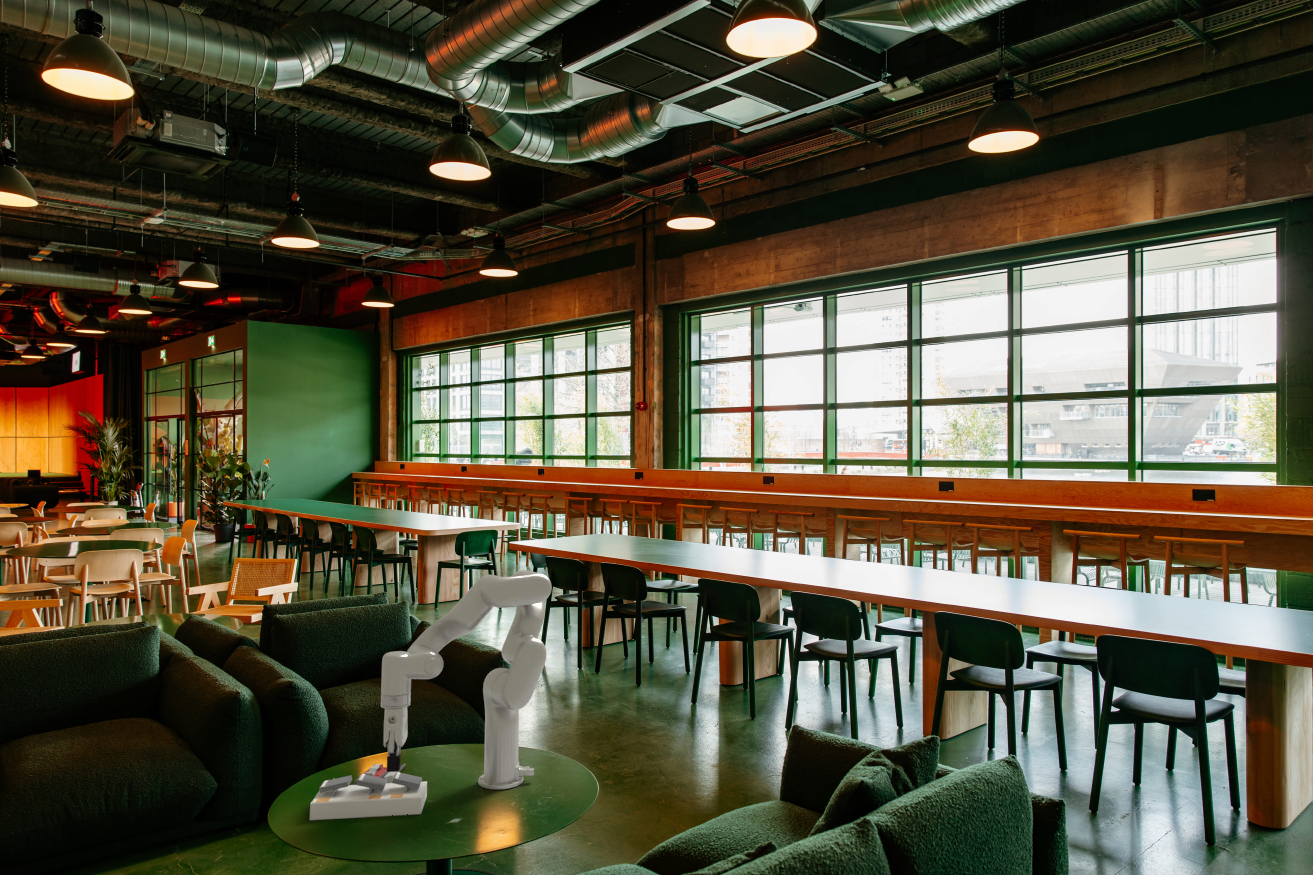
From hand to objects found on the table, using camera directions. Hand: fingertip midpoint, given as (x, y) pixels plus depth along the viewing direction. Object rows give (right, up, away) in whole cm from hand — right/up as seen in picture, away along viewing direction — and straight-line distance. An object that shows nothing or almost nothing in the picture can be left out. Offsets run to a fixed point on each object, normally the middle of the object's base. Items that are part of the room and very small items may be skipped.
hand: (393, 770), depth 212 cm
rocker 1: (-14, -3, -2) cm, 15 cm away
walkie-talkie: (-10, -11, +19) cm, 24 cm away
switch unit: (-5, -9, -2) cm, 10 cm away
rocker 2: (-5, -3, -1) cm, 6 cm away
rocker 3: (+4, -3, 0) cm, 5 cm away
